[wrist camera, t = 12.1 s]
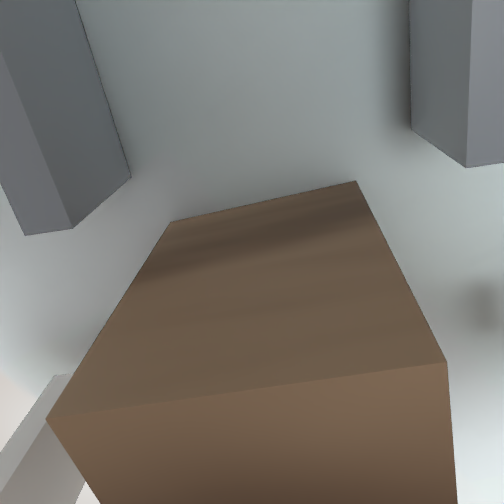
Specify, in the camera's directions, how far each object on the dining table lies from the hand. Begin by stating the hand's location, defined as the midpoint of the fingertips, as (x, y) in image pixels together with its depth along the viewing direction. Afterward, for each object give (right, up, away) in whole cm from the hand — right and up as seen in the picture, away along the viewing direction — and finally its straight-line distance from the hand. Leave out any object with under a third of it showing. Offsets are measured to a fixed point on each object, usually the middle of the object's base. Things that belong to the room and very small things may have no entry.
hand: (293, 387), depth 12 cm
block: (0, +3, +2) cm, 4 cm away
